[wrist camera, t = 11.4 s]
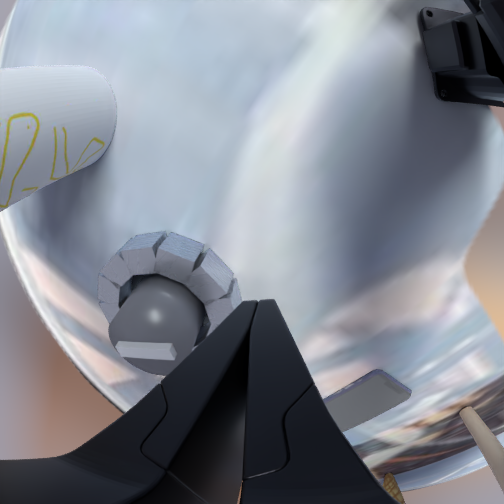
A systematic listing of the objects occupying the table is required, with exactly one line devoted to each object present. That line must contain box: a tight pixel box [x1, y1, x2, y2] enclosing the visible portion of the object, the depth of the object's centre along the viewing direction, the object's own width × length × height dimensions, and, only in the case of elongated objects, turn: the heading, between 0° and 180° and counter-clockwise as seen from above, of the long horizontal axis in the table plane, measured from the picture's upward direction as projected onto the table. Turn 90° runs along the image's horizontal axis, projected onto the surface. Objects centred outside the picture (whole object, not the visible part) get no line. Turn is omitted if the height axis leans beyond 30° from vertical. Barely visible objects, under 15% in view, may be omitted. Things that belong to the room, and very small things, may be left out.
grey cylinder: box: [0, 65, 117, 212], centre depth 13 cm, size 8×8×12 cm
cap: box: [109, 273, 207, 375], centre depth 22 cm, size 6×6×7 cm
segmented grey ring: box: [98, 231, 242, 351], centre depth 23 cm, size 12×12×2 cm
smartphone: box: [323, 369, 412, 432], centre depth 30 cm, size 8×1×15 cm
